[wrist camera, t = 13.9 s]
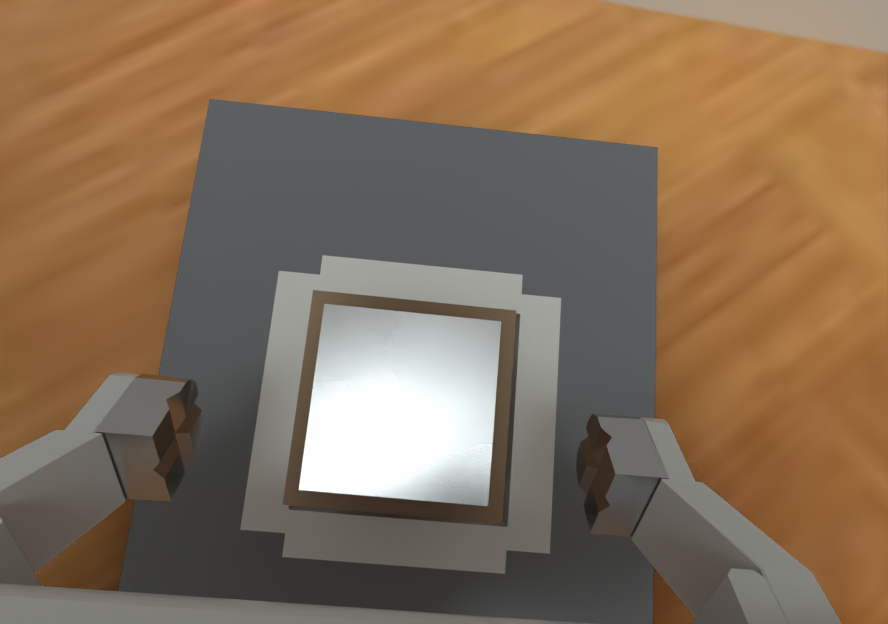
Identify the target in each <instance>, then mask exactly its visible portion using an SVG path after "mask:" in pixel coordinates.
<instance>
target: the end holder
mask: <svg viewBox="0 0 888 624" xmlns="http://www.w3.org/2000/svg"><path fill="white" fill-rule="evenodd" d="M657 156H658V147H648V146H639V145H630V144H621V143H611V142H602V141H593V140H584V139H574V138H565V137H556V136H547V135H537V134H528V133H519V132H510V131H500V130H491V129H482V128H473V127H464V126H454V125H445V124H436V123H427V122H417V121H408V120H399V119H390V118H380V117H371V116H362V115H353V114H343V113H334V112H325V111H316V110H306V109H297V108H288V107H279V106H270V105H260V104H251V103H242V102H233V101H223V100H214V99H210V100H209V106H208V111H207V117H206V122H205V127H204V133H203V138H202V143H201V149H200V154H199V159H198V165H197V170H196V176H195V181H194V186H193V192H192V197H191V202H190V208H189V213H188V218H187V224H186V229H185V235H184V240H183V245H182V251H181V256H180V261H179V267H178V272H177V277H176V283H175V288H174V294H173V299H172V304H171V310H170V315H169V320H168V326H167V331H166V336H165V342H164V347H163V353H162V358H161V363H160V369H159V374H158V376H166V377H175V378H184V379H191V380H193V381H195V382H196V385H197V389H198V393H199V395H198V396H197V398H196V400H195V402H194V403H195V404H196V405H197V406H198V407H199V408H200V409H201V410H202V412H203V418H204V430H203V434H202V438H201V442H200V445H199V447H198V449H197V451H196V453H195V456H193V457H192V458H190V459H189V460H187V461H186V462H184V463H183V466H184V470H185V475H184V477H183V479H182V481H181V483H180V485H179V487H178V489H177V490H176V492H175V494H174V496H173V498H172V500H171V501H155V500H135V503H134V508H133V513H132V519H131V524H130V530H129V535H128V540H127V546H126V551H125V556H124V562H123V567H122V572H121V578H120V583H119V588H118V591H122V592H137V593H151V594H166V595H181V596H195V597H210V598H224V599H239V600H254V601H268V602H283V603H297V604H312V605H327V606H341V607H356V608H370V609H385V610H400V611H414V612H429V613H444V614H459V615H474V616H489V617H504V618H519V619H533V620H548V621H563V622H578V623H593V624H653V566H652V565H651V563H650V562H649V561H648V560H647V558H646V557H645V556H644V555H643V553H642V552H641V551H640V550H639V549H638V547H637V546H636V545H635V544H634V542H633V541H632V540H631V539H632V537H622V536H613V535H603V534H593V533H590V530H589V526H588V522H587V518H586V513H585V509H584V505H583V504H584V502H585V499H586V496H587V494H586V493H585V492H584V491H583V490H582V489H581V488H580V487H579V484H578V479H577V473H576V459H577V452H578V448H579V445H580V442H581V441H582V440H584V439H585V438H587V437H588V433H587V430H586V425H587V422H588V420H589V418H590V416H591V415H592V414H603V415H616V416H629V417H638V418H640V417H644V418H655V361H656V259H657ZM313 290H319V291H329V292H339V293H348V294H358V295H368V296H378V297H388V298H398V299H408V300H418V301H427V302H437V303H447V304H457V305H467V306H477V307H487V308H497V309H506V310H516V323H515V338H514V353H513V368H512V383H511V398H510V413H509V428H508V443H507V458H506V473H505V488H504V503H503V518H502V524H499V523H488V522H476V521H465V520H453V519H441V518H430V517H418V516H406V515H395V514H383V513H372V512H360V511H348V510H337V509H325V508H313V507H302V506H290V505H283V498H284V491H285V484H286V477H287V470H288V463H289V456H290V449H291V442H292V435H293V428H294V421H295V414H296V407H297V400H298V392H299V385H300V378H301V371H302V364H303V357H304V350H305V343H306V336H307V329H308V322H309V315H310V308H311V301H312V294H313Z"/></svg>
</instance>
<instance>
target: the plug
mask: <svg viewBox="0 0 888 624" xmlns="http://www.w3.org/2000/svg"><path fill="white" fill-rule="evenodd" d="M515 323H516V310H506V309H497V308H487V307H477V306H467V305H457V304H447V303H437V302H427V301H418V300H408V299H398V298H388V297H378V296H368V295H358V294H348V293H339V292H329V291H319V290H313V294H312V301H311V308H310V315H309V322H308V329H307V336H306V343H305V350H304V357H303V364H302V371H301V378H300V385H299V392H298V400H297V407H296V414H295V421H294V428H293V435H292V442H291V449H290V456H289V463H288V470H287V477H286V484H285V491H284V498H283V505H290V506H302V507H313V508H325V509H337V510H348V511H360V512H372V513H383V514H395V515H406V516H418V517H430V518H441V519H453V520H465V521H476V522H488V523H499V524H502V518H503V503H504V488H505V473H506V458H507V443H508V428H509V413H510V398H511V383H512V368H513V353H514V338H515Z"/></svg>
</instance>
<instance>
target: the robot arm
mask: <svg viewBox="0 0 888 624" xmlns="http://www.w3.org/2000/svg"><path fill="white" fill-rule="evenodd" d="M198 395H199V393H198V389H197V385H196V382H195V381H193V380H191V379H184V378H175V377H166V376H157V375H147V374H133V373H125V372H115V373H113V374H111V375H109V376H108V377H107V378H106V380H105V381H104V382H103V383H102V385H101V386H100V387H99V388H98V389H97V391H96V392H95V393H94V394H93V396H92V397H91V398H90V399H89V400H88V402H87V403H86V404H85V405H84V407H83V408H82V409H81V410H80V411H79V413H78V414H77V415H76V416H75V418H74V419H73V420H72V421H71V422H70V424H69V425H68V426H67V427H66V429H65V430H55V431H53V432H51V433H49V434H47V435H45V436H43V437H41V438H39V439H37V440H35V441H33V442H31V443H29V444H27V445H25V446H23V447H21V448H19V449H17V450H15V451H13V452H11V453H10V454H8V455H6V456H4V457H2V458H0V624H593V623H578V622H563V621H548V620H533V619H519V618H504V617H489V616H474V615H459V614H444V613H429V612H414V611H400V610H385V609H370V608H356V607H341V606H327V605H312V604H297V603H283V602H268V601H254V600H239V599H224V598H210V597H195V596H181V595H166V594H151V593H137V592H122V591H107V590H93V589H78V588H63V587H49V586H41V585H40V583H39V581H38V579H37V578H36V576H35V573H37V572H38V571H39V570H40V569H42V568H43V567H44V566H45V565H47V564H48V563H49V562H50V561H52V560H53V559H54V558H55V557H57V556H58V555H59V554H60V553H62V552H63V551H64V550H66V549H67V548H68V547H69V546H71V545H72V544H73V543H74V542H76V541H77V540H78V539H79V538H81V537H82V536H83V535H84V534H86V533H87V532H88V531H89V530H91V529H92V528H93V527H94V526H96V525H97V524H98V523H100V522H101V521H102V520H103V519H105V518H106V517H107V516H108V515H110V514H111V513H112V512H113V511H115V510H116V509H117V508H118V507H120V506H121V505H122V504H123V503H125V502H126V500H125V499H134V500H155V501H171V500H172V498H173V496H174V494H175V492H176V490H177V489H178V487H179V485H180V483H181V481H182V479H183V477H184V475H185V470H184V466H183V463H184V462H186V461H187V460H189V459H190V458H192V457H193V456H195V453H196V451H197V449H198V447H199V445H200V442H201V438H202V434H203V430H204V418H203V412H202V410H201V409H200V408H199V407H198V406H197V405H196V404H195V403H194V402H195V400H196V398H197V396H198ZM586 430H587V433H588V437H587V438H585V439H584V440H582V441H581V442H580V445H579V448H578V452H577V459H576V473H577V479H578V484H579V487H580V488H581V489H582V490H583V491H584V492H585V493H586V494H587V496H586V499H585V502H584V504H583V505H584V509H585V513H586V518H587V522H588V526H589V530H590V533H593V534H603V535H613V536H622V537H632V539H631V540H632V541H633V542H634V544H635V545H636V546H637V547H638V549H639V550H640V551H641V552H642V553H643V555H644V556H645V557H646V558H647V560H648V561H649V562H650V563H651V565H652V566H653V567H654V568H655V569H656V571H657V572H658V573H659V574H660V576H661V577H662V578H663V579H664V581H665V582H666V583H667V584H668V585H669V587H670V588H671V589H672V590H673V592H674V593H675V594H676V595H677V596H678V598H679V599H680V600H681V601H682V603H683V604H684V605H685V606H686V608H687V609H688V610H689V611H690V612H691V614H692V615H693V616H694V617H695V620H694V621H693V623H692V624H841V622H840V620H839V618H838V617H837V615H836V613H835V612H834V610H833V608H832V606H831V605H830V603H829V601H828V599H827V598H826V596H825V594H824V592H823V591H822V589H821V587H820V585H819V584H818V582H817V580H816V579H815V577H814V575H813V573H812V572H811V571H809V570H808V569H807V568H806V567H805V566H803V565H802V564H801V563H800V562H799V561H797V560H796V559H795V558H794V557H792V556H791V555H790V554H789V553H788V552H786V551H785V550H784V549H783V548H782V547H780V546H779V545H778V544H777V543H776V542H774V541H773V540H772V539H771V538H769V537H768V536H767V535H766V534H765V533H763V532H762V531H761V530H760V529H759V528H757V527H756V526H755V525H754V524H753V523H751V522H750V521H749V520H748V519H747V518H745V517H744V516H743V515H742V514H740V513H739V512H738V511H737V510H736V509H734V508H733V507H732V506H731V505H730V504H728V503H727V502H726V501H725V500H724V499H722V498H721V497H720V496H719V495H718V494H716V493H715V492H714V491H713V490H711V489H710V488H709V487H708V486H707V485H705V484H704V483H703V482H696V481H695V479H694V477H693V475H692V473H691V471H690V468H689V466H688V464H687V462H686V460H685V458H684V456H683V453H682V451H681V449H680V447H679V445H678V443H677V441H676V438H675V436H674V434H673V432H672V430H671V428H670V426H669V424H668V422H667V421H666V420H665V419H658V418H644V417H640V418H638V417H629V416H616V415H603V414H592V415H591V416H590V418H589V420H588V422H587V425H586Z"/></svg>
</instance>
